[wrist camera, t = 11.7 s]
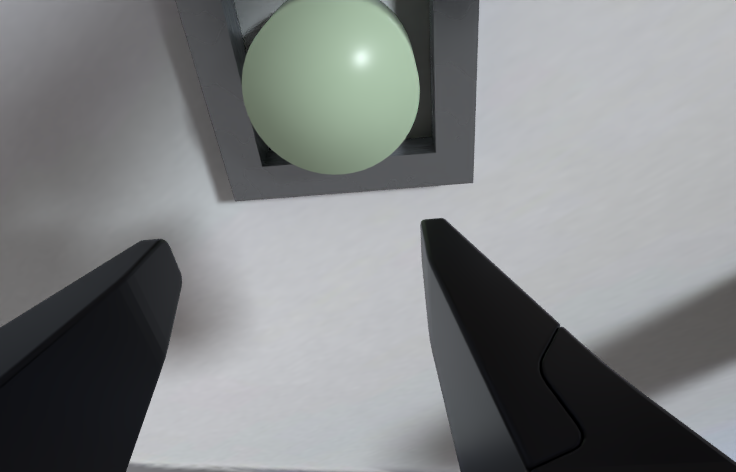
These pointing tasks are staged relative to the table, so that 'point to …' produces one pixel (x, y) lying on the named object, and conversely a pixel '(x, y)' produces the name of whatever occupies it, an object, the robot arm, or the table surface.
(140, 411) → the robot arm
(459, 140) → the button bezel
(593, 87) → the table surface
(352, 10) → the button
